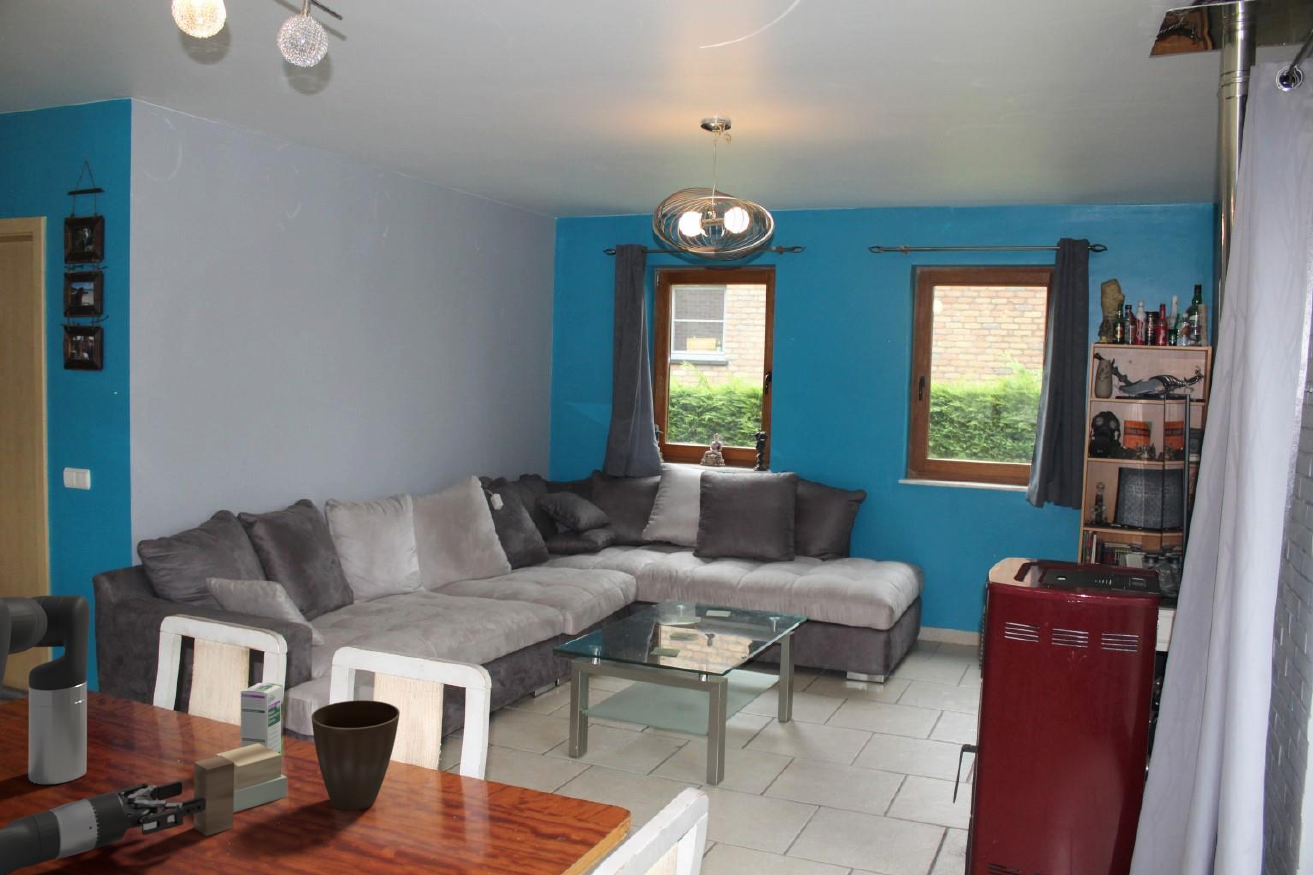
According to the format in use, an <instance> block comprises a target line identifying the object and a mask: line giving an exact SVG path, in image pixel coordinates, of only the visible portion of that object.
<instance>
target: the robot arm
mask: <svg viewBox="0 0 1313 875" xmlns="http://www.w3.org/2000/svg"><path fill="white" fill-rule="evenodd" d="M90 610H91V608H90V603H89V601H88V599H87V598H86V596H83V595H79V594H78V595H76V594H75V595H71V594H68V595H66V594H65V595H61V594H60V595H38V596H33V597H29V598H27V597H24V596H23V597H22V596H4V597H0V698H1V696H2V691H3V685H4V681H5V674H6V669H7V662H8V656H9V655H14V654H20V653H23V652H26V651H28V650H30V649H32V648H56V647H57V648H61V647H63V648H64V652H63V655H61V656H59V657H58V658H55V659H53V660H51V661H47V662H44V663H41V664H39V665H37V666H35V667H33V668H32V669H31V670H30V671H29V674H28V778H29V779H28V778H27V779H28V781H29V780H30V781H31V782H30V781H29V782H30V783H32V782H33V784H36V783H37V785H57V784H63V783H67V782H71V781H74V780H76V779H79V778H82V776H84V775H85V774H86V773H87V762H88V761H87V754H88V753H87V750H88V748H87V746H88V745H87V744H88V743H87V742H88V739H87V738H88V734H87V733H88V727H87V726H88V725H87V724H88V710H87V709H88V691H87V690H88V665H89V664H88V663H89V662H88V661H89V660H88V659H89V638H90V636H89V635H90V623H91V611H90ZM182 794H183V782H181V781H179V780H175V781H172V782H169V783H165V784H161V785H158V786H157V785H154V784H152V785H149V783H147V782H143V783H139V784H135V785H132V786H129V787H126V788H122V789H118V790H116V791H110V792H106V793H101V794H97V795H95V796H91V797H87V798H84V799H80V800H75V801H71V802H68V803H65V804H62V805H59V806H56V807H54V808H50V809H48V810H44V811H40V812H37V813H33V814H29V815H25V816H22V817H19V818H16V819H14V820H12V821H10V822H9V823H7V825H6V826H5V827H1V828H0V875H10V874H13V873H14V872H16V871H18V870H20V869H24V868H27V867H31V866H36V865H38V864H42V863H46V862H50V861H52V860H55V859H59V858H66V857H71V856H74V855H78V854H81V853H85V852H88V851H92V850H96V849H98V848H101V847H105V846H109V845H114V844H115V843H118V842H119V843H120V841H122V840H123V839H124V837H125V835H126V832H127V831H128V830H129V829H134V828H136V829H138V828H141V835H144V836H145V835H146V836H147V835H151V834H155V833H158V832H162V831H165V830H168V829H169V830H170V829H172V828H176V827H179V826H182V825H184V817H188V816H191V815H194V814H195V813H198V812H202V811H204V810H205V808H206V799H205V798H204V797H202V796H201V797H197V798H194V797H193V798H191V799H187V800H183V801H180V802H168V801H166V800H167V799H170V798H174V797H178V796H180V795H182Z"/></svg>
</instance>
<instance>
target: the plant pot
mask: <svg viewBox="0 0 1313 875" xmlns="http://www.w3.org/2000/svg"><path fill="white" fill-rule="evenodd" d="M400 714H401V712H400V710H399V708H398V707H397V706H395V705H393V704H390V703H388V702H383V701H378V700H368V699H367V700H363V699H361V700H359V699H357V700H348V701H347V700H346V701H338V702H334V703H330V704H327V705H324V706H322V707H318V709H315V710H314V711H313V712H312V714H311V725H312V733H313V740H314V747H315V751H316V752H315V753H316V756H317V757H316V758H317V760H318V761H317V762H318V766H319V770H320V773H321V777H322V780H323V783H324V786H325V790H326V793H327V795H328V798H329V800H330V803H331V805H332V806H333V807H334V808H335V809H338V810H342V811H359V810H363V809H366V808H369V807H371V806H372V805H373V804H374V803H375V802H376V800H377V797H378V795H379V793H380V790H381V788H382V785H383V782H384V780H385V778H386V777H385V776H386V774H387V771H388V768H389V764H390V761H391V757H392V754H393V750H394V747H395V741H396V736H397V731H398V725H399V719H400Z"/></svg>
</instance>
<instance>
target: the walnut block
mask: <svg viewBox="0 0 1313 875" xmlns="http://www.w3.org/2000/svg"><path fill="white" fill-rule="evenodd" d="M193 770H194V775H193V776H194V777H193V778H194V779H193V780H194V781H193V783H194V784H193V785H194V786H193V791H194V792H193V799H194V798H197V797H201V796H202V797H204V798H205V799H206V808H205V810H204V811H202V812H198V813H195V814H193V828H194V829H195V830H197V831H198V832H199V833H201V834H203V835H204V836H206V837H209V836H212V835H214V834H218V833H220V832H224V831H227V830H231V829H233V828H234V813H235V812H234V762H232V761H230V760H229V759H227V758H225V757H223V756H222V755H221V756H217V757H216V756H213V757H209V758H205V759H202V760H198V761H194V769H193Z"/></svg>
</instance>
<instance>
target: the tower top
mask: <svg viewBox="0 0 1313 875" xmlns="http://www.w3.org/2000/svg"><path fill="white" fill-rule="evenodd" d="M221 755H222V756H223V757H225V758H227V759H229V760H230V761H232V762H234V787H235V788H237V789H241V788H244V787H248V786H251V785H255V784H258V783H261V782H265V781H268V780H272V779H275V778H278V777H281V774H282V759H283V757H282V755H281V754H279V753H277V752H275V751H273V750H271V749H269V748H267V747H265V746H263V745H261V744H259V743H257V744H253V745H249V746H245V747H242V748H241V747H238V748H234V749H231V750H227V751H222V752H219V753H216V754H215V757H217V756H221Z"/></svg>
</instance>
